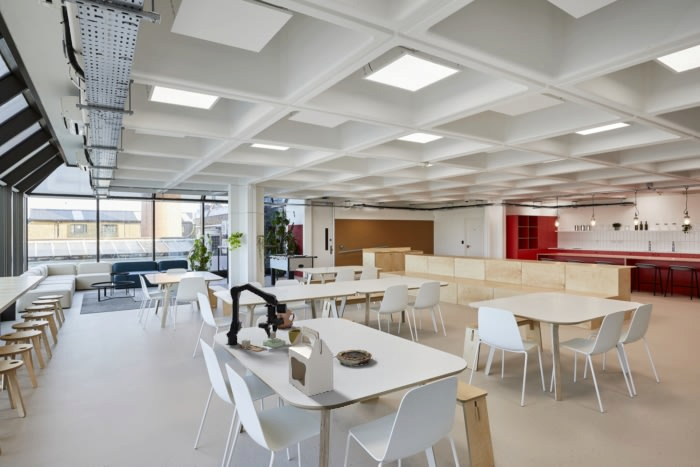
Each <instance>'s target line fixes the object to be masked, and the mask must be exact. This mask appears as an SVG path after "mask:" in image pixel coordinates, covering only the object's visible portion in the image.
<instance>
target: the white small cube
mask: <svg viewBox="0 0 700 467" xmlns="http://www.w3.org/2000/svg"><path fill="white" fill-rule="evenodd" d="M274 338H275V339H276V338H277V331H276V332H273V330H270V337H268V336H267V340H269V339H274Z"/></svg>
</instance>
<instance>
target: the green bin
mask: <svg viewBox="0 0 700 467" xmlns="http://www.w3.org/2000/svg"><path fill="white" fill-rule="evenodd" d="M274 339H276V338H274ZM262 346H265V347H270V348H275V349H276V348H279V347H282V346H286V340H283V339H281V342H278V343H273V339H266V340H263V341H262Z"/></svg>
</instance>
